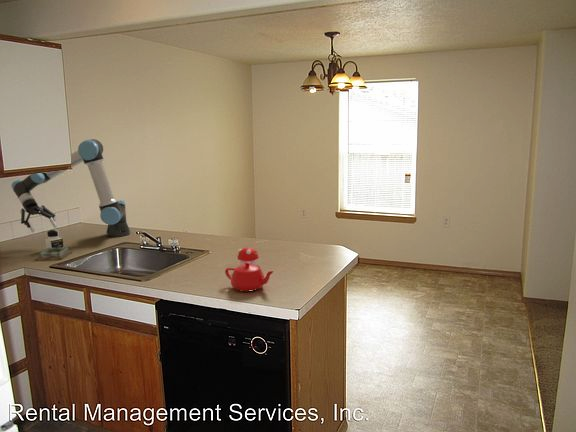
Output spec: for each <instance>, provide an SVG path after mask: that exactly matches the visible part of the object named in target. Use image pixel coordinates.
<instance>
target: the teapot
mask: <svg viewBox="0 0 576 432" xmlns="http://www.w3.org/2000/svg"><path fill="white" fill-rule="evenodd" d="M244 263H245V265H238V266H236V267H235V268H234V267H227V268H225V271H224V273H225V275H226V277H227V279H228V280H230V284H231V286H232V288H234V290H236V289H237V290H236V291H239V290H242V291H249V290H255V289H258V290H260V289H262V288H263V287H264V285H266V284H267V283H269V281H270V276H271V275H272V274H273V273H274V272H275V271H274V270H270V271H268V272H267V274H266V276H265V274H264V272H263V271H262V269H261V266H259V265H256V264H255V265H250V262H244ZM229 271H233V272H232V273H231V274H232V275H230V273H229ZM259 288H260V289H259ZM242 291H241V292H242Z"/></svg>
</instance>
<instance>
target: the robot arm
mask: <svg viewBox="0 0 576 432" xmlns="http://www.w3.org/2000/svg"><path fill="white" fill-rule="evenodd" d="M77 147H78V148H77V150H76V151H74V152H72V153H70V155H71V169H72V168H75V167H76V166H78V165H80V164H82V163H83V164H84V165H86V166H87V167H88V170H89V173H90V175H91V176H90V177H91V179H92V180H91V181H92V183H93V185H94V189H95V191H96V194H97V197H98V200H99V204H98V208H99V211H100V216H99V217H100V220H101V221H102V222H103V223H105V224H106V225H107V228H106V233H105V234H106V236H107V237H110V238H113V237H114V238H116V237H117V238H118V237H125V236H129V235H130V234H131V230H130V227H129V225H128V224H129V223H127V213H126V212H127V211H126V203H125V200H118V199H116V198H114V197H115V196H114V194H113V191H112V188H111V186H110V182H109V179H108V176H107V172H106V171H105V168H104V165H103V161H104V157H103V153H104V146H103V144H102V142H101V141H99V140H98V139H94V138H93V139H92V138H91V139H85V140H83V141H82V142H80V144H79V145H78V146H77ZM68 171H70V169H67V170H62V171H54V172H47V173H38V174H31V173H30V174H31V175H30V174H29V175H28V176H26V177H25V178H24V179H16V180H15V181H13V182H12V183H11V189H12V191H13V193H14V194H15V195H16V196H17V199H18V201H19V202H20V204H21V205H22V207H23V208H21V209H20V214H21V218H20V224H21V225H23V224H24V225H25V226H26V228H28V229H30V231H31V233H35V228H34V226H33V224H32V223H31V221H30V220H29V219H30V218H31V216H34V215H39V216H40V215H41V216H43V217H45V218H47V219H49V222H50V224H51V225H52V227H53V228H54V229H56V227H57V226H58V225H57V223H56V220H55V218H56V214H55V213H54V212H52V211H51V210H49V209H48V208H47V207H46V206H45V205H43V204H42V205H41V206H39V205H38V202H37V201H36V200H35V198H34V196H33V195H32V193H31V191H32V190H33V189H35V188H36V187H39V185H42V184H46V183H47V182H48V181H50V180H52V179H54V178H56V177H57V176H59V175H61V174H63V173H65V172H68ZM26 213H28V214H27V216H25V214H26ZM25 217H26V219H25Z"/></svg>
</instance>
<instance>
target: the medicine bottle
mask: <svg viewBox="0 0 576 432" xmlns="http://www.w3.org/2000/svg"><path fill="white" fill-rule="evenodd" d="M44 241H45V247H46V248H45V250H46V249H48V248H65V247H64V239H63V237H60V231H59V229H50V230H48V231H47V238H45V239H44Z"/></svg>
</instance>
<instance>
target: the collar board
mask: <svg viewBox="0 0 576 432" xmlns="http://www.w3.org/2000/svg"><path fill="white" fill-rule="evenodd" d="M71 254H73V251H72V250H69V247H64V248H48V249H46V248H45V249H43V250H42V251H41V252H39V253H38V257H36V258H35V260H36V261H61V260H64V259H66V258H67V257H68V256H70V255H71Z"/></svg>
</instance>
